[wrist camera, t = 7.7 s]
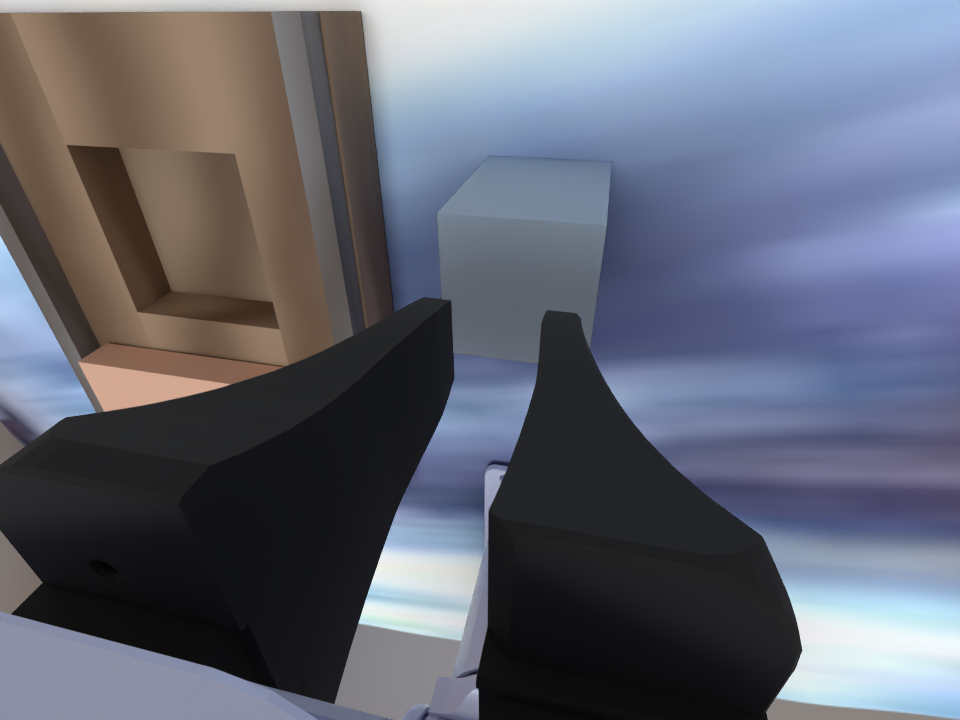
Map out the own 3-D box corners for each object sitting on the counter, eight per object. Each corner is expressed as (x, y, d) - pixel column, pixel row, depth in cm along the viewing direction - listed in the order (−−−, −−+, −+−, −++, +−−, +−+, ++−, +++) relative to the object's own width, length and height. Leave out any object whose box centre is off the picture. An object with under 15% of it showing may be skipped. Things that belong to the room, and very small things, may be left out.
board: (360, 11, 16) (303, 11, 13) (411, 474, 27) (387, 529, 24) (-8, 13, 18) (-123, 13, 15) (178, 435, 29) (131, 480, 27)
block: (611, 161, 16) (606, 225, 12) (596, 276, 19) (587, 369, 14) (489, 155, 17) (436, 213, 12) (488, 266, 19) (444, 352, 15)
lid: (338, 374, 21) (321, 397, 19) (367, 522, 26) (354, 547, 24) (107, 343, 23) (77, 361, 21) (175, 485, 28) (155, 507, 26)
